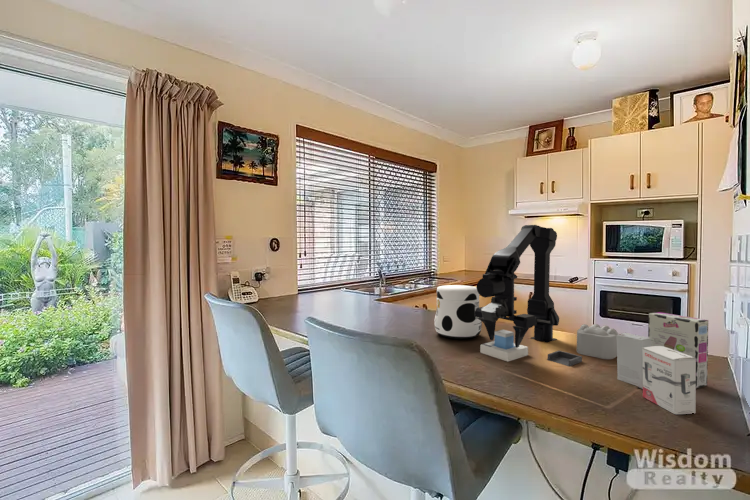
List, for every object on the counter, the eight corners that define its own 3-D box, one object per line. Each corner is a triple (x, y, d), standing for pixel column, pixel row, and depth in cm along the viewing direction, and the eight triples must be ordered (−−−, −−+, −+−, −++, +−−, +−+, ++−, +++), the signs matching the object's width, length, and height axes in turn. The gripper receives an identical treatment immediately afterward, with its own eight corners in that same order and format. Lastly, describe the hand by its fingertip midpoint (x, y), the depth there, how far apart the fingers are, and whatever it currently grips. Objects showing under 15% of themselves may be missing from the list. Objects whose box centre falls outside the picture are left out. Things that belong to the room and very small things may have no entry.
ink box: (640, 397, 82) (641, 345, 82) (660, 395, 83) (661, 345, 82) (674, 415, 74) (676, 358, 73) (697, 414, 74) (698, 357, 74)
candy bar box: (708, 386, 88) (710, 319, 87) (696, 389, 86) (698, 321, 85) (658, 370, 98) (659, 311, 98) (646, 373, 96) (647, 312, 96)
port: (500, 348, 119) (500, 338, 119) (528, 356, 110) (528, 346, 110) (480, 354, 113) (480, 344, 113) (507, 363, 105) (507, 352, 105)
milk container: (429, 330, 142) (428, 285, 141) (471, 328, 144) (471, 284, 143) (442, 343, 125) (441, 292, 124) (489, 341, 127) (489, 290, 126)
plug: (502, 351, 114) (502, 329, 114) (513, 354, 111) (513, 332, 111) (494, 353, 112) (494, 331, 112) (505, 357, 109) (505, 334, 109)
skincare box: (652, 386, 88) (653, 337, 87) (642, 390, 86) (643, 340, 85) (625, 377, 93) (626, 331, 93) (615, 381, 91) (616, 334, 91)
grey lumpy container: (573, 354, 112) (573, 327, 112) (585, 345, 121) (585, 320, 121) (612, 362, 105) (612, 333, 104) (622, 352, 114) (622, 325, 114)
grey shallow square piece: (559, 356, 110) (559, 350, 110) (582, 363, 104) (582, 356, 104) (546, 361, 106) (546, 354, 106) (569, 368, 100) (569, 361, 100)
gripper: (463, 292, 114) (463, 340, 115) (514, 301, 99) (514, 356, 99) (486, 289, 120) (486, 335, 121) (538, 296, 105) (537, 349, 106)
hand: (504, 343), depth 112 cm, fingers open, 9 cm apart
